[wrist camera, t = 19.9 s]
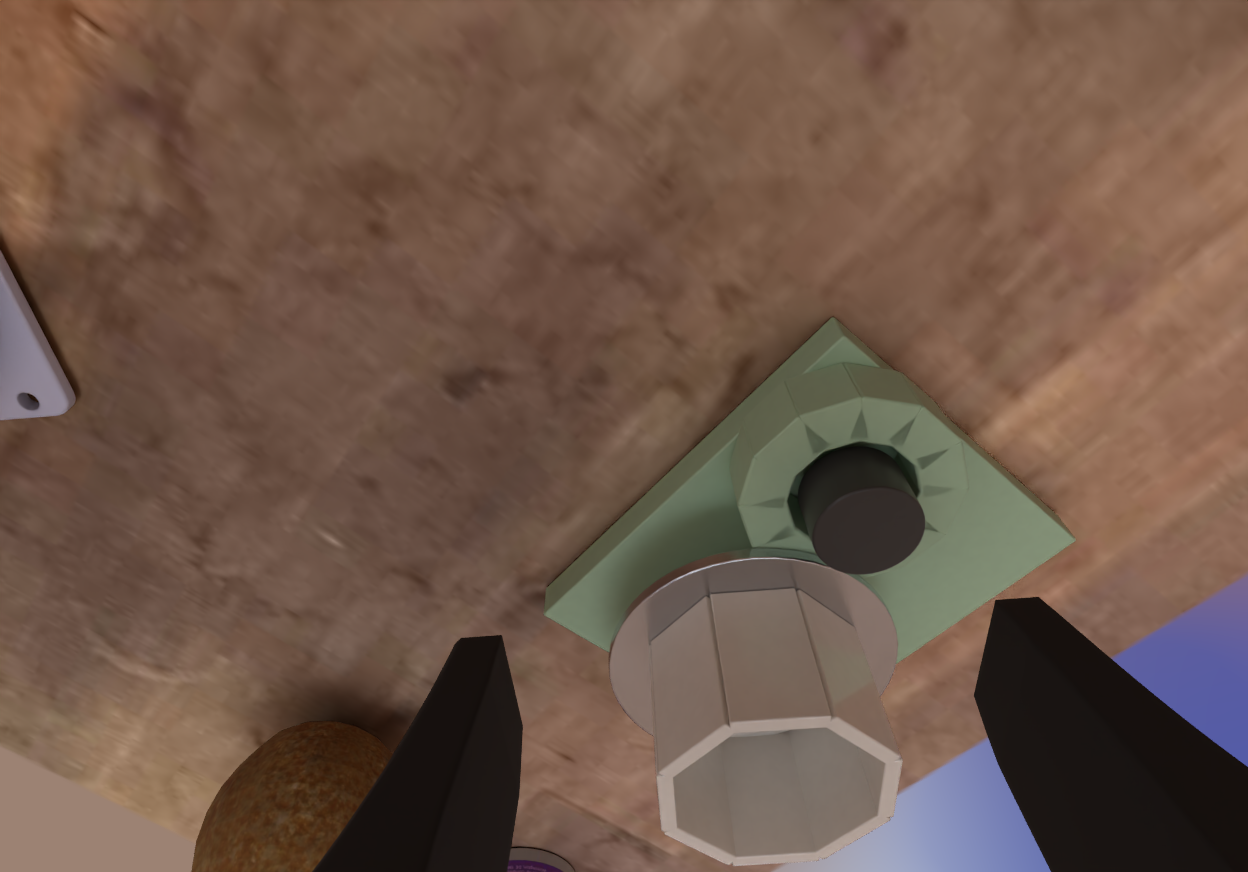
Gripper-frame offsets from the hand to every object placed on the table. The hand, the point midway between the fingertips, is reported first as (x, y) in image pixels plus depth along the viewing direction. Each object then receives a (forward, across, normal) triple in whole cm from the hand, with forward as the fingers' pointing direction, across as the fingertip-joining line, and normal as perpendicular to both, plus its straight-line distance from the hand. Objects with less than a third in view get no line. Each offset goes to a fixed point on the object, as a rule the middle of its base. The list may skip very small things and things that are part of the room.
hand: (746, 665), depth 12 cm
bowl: (+7, -1, +8) cm, 11 cm away
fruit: (+11, +13, +14) cm, 22 cm away
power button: (+8, -4, +3) cm, 9 cm away
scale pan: (+7, -1, +8) cm, 11 cm away
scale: (+10, -3, +7) cm, 13 cm away
